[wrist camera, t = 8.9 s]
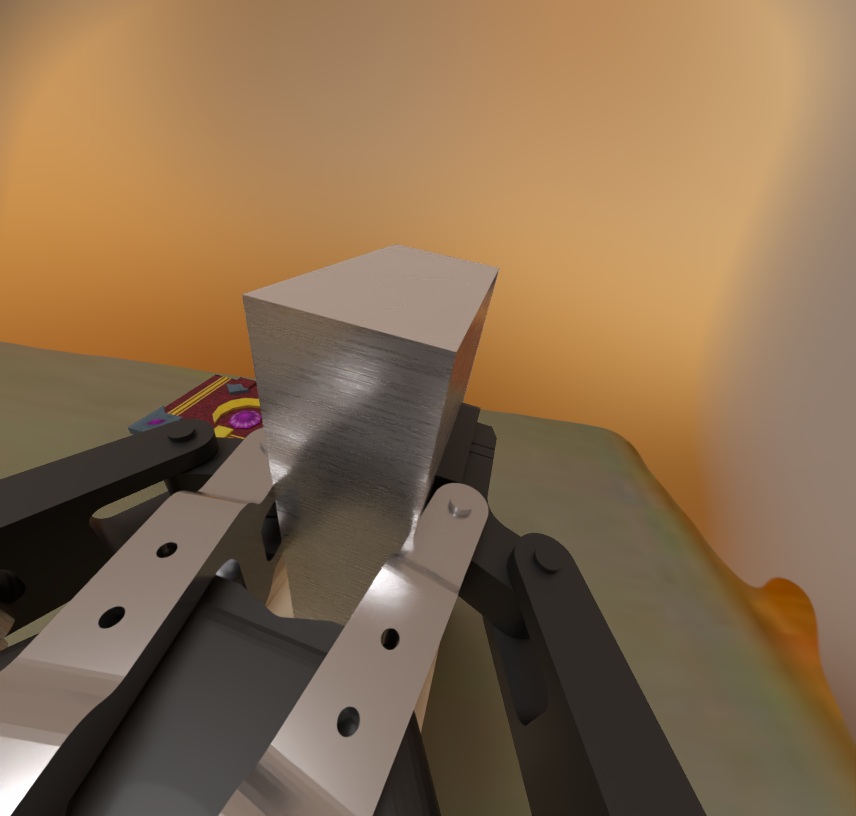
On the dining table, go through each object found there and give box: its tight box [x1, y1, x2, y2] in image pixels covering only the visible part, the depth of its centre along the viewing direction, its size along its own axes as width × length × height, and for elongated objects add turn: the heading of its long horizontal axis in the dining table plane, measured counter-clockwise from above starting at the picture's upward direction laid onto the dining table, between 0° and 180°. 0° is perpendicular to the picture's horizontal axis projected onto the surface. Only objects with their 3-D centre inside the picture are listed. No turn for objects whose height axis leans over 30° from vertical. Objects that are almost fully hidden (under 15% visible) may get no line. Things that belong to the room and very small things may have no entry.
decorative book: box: [128, 375, 263, 439], centre depth 35 cm, size 11×16×5 cm
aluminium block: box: [242, 244, 499, 626], centre depth 10 cm, size 3×6×13 cm, turn 165°
